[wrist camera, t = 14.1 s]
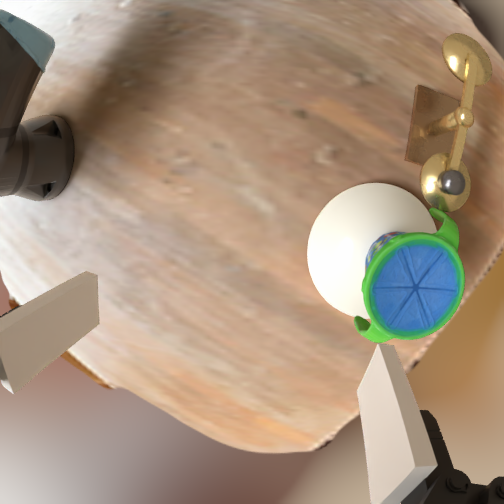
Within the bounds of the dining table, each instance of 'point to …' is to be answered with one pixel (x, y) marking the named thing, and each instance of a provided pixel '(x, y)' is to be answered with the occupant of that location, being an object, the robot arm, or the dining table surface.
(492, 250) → the dining table surface
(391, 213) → the dish
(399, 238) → the snack cup
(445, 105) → the balance
